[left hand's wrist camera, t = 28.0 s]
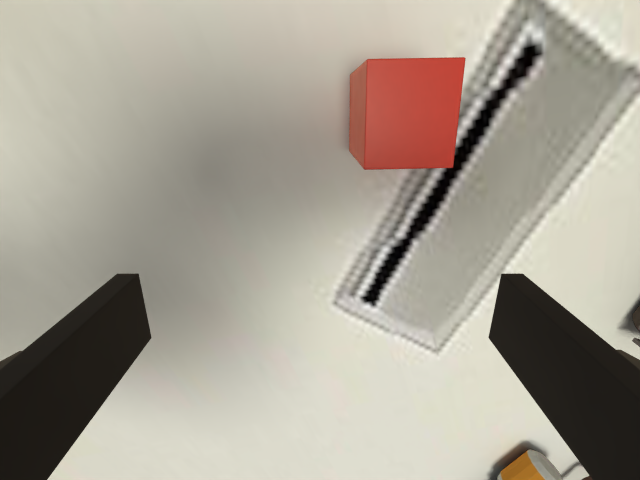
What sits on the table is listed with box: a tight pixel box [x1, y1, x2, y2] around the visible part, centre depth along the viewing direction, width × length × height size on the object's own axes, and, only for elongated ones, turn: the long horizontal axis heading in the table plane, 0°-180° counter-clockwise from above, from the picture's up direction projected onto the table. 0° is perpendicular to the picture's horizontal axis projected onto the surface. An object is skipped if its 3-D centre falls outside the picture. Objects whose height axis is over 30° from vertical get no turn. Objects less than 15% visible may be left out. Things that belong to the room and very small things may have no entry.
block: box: [349, 57, 465, 170], centre depth 22 cm, size 5×5×8 cm
